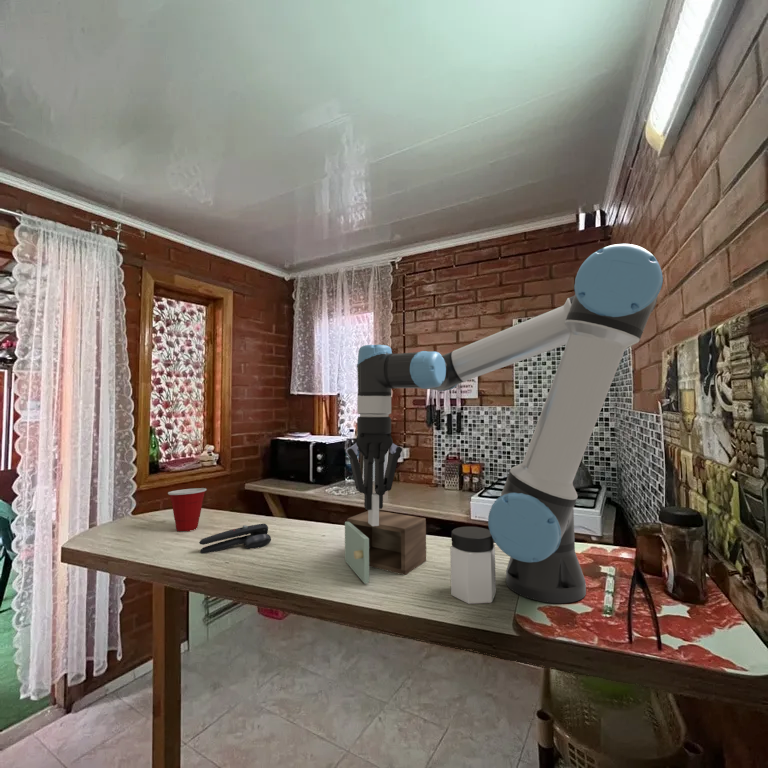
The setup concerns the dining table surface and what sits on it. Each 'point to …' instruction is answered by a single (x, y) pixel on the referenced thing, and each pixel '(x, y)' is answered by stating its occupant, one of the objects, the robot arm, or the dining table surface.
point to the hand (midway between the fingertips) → (373, 524)
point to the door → (357, 551)
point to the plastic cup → (187, 507)
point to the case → (394, 541)
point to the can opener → (238, 538)
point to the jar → (473, 565)
